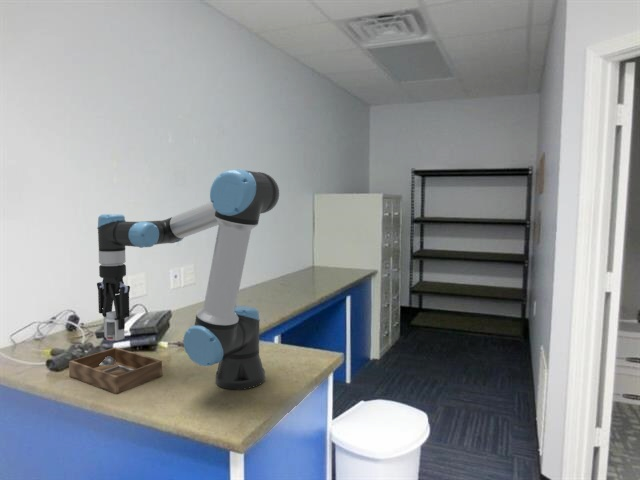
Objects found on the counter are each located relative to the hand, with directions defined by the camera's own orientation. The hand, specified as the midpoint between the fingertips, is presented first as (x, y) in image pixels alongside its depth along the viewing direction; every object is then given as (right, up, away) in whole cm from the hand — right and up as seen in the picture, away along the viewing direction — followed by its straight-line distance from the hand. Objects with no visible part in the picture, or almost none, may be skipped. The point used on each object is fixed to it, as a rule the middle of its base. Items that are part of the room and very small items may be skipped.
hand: (114, 337), depth 140 cm
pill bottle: (0, -1, 0) cm, 1 cm away
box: (0, -12, +1) cm, 13 cm away
